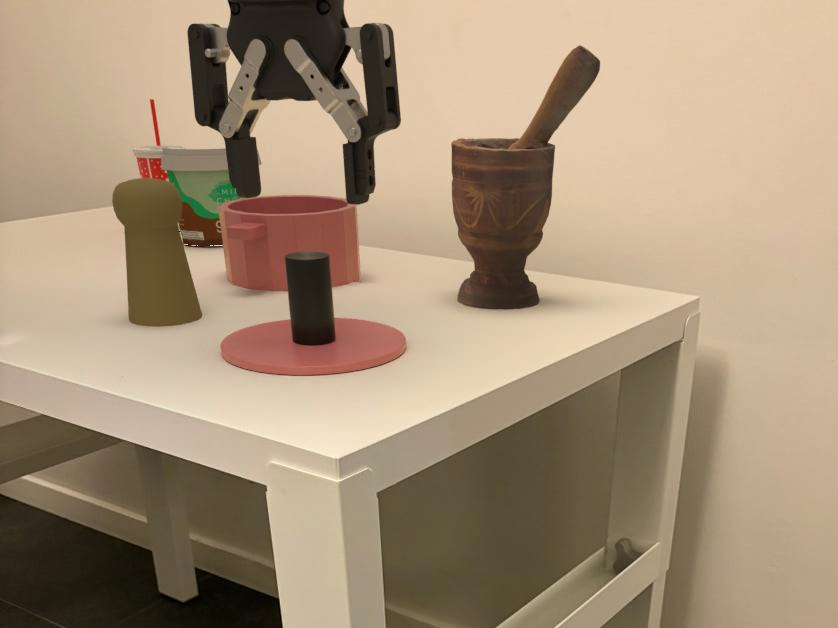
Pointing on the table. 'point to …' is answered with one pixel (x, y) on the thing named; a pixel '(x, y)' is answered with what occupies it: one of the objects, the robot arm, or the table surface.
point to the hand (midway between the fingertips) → (303, 199)
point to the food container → (200, 191)
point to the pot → (287, 237)
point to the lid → (312, 330)
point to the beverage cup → (153, 155)
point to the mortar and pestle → (512, 193)
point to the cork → (155, 254)
